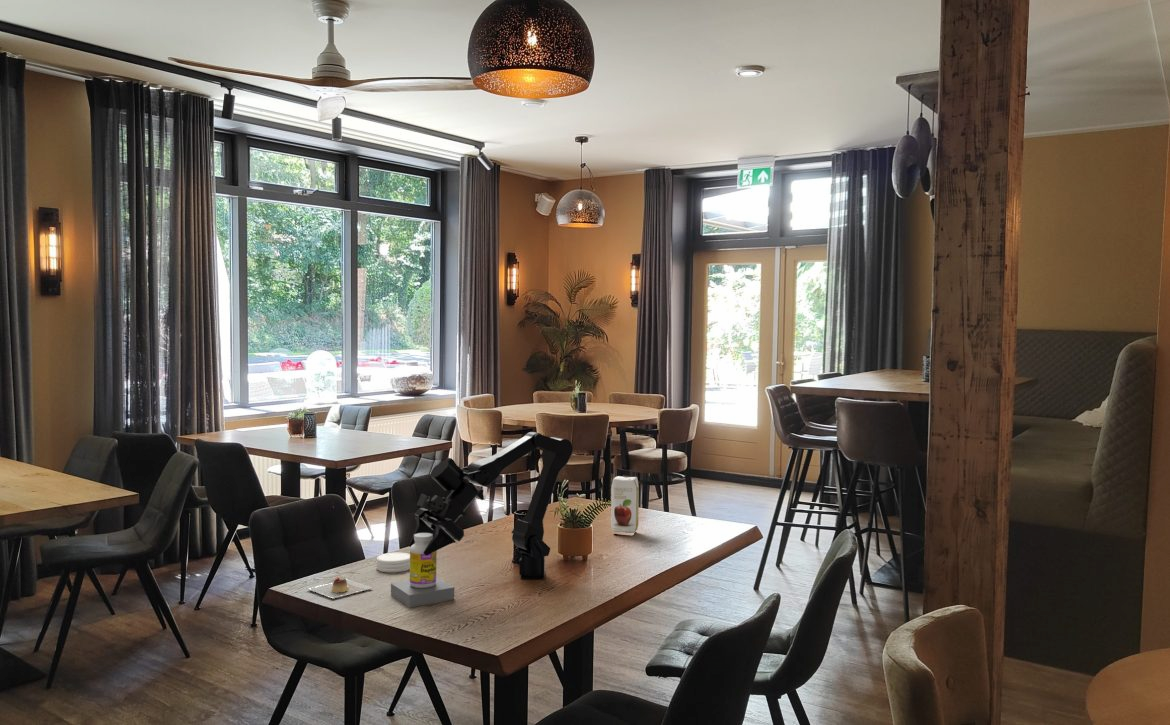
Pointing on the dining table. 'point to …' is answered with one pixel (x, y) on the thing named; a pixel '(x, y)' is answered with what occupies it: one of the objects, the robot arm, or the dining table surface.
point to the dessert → (340, 586)
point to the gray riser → (422, 593)
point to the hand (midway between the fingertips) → (417, 550)
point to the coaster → (393, 562)
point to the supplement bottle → (422, 562)
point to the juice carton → (624, 504)
